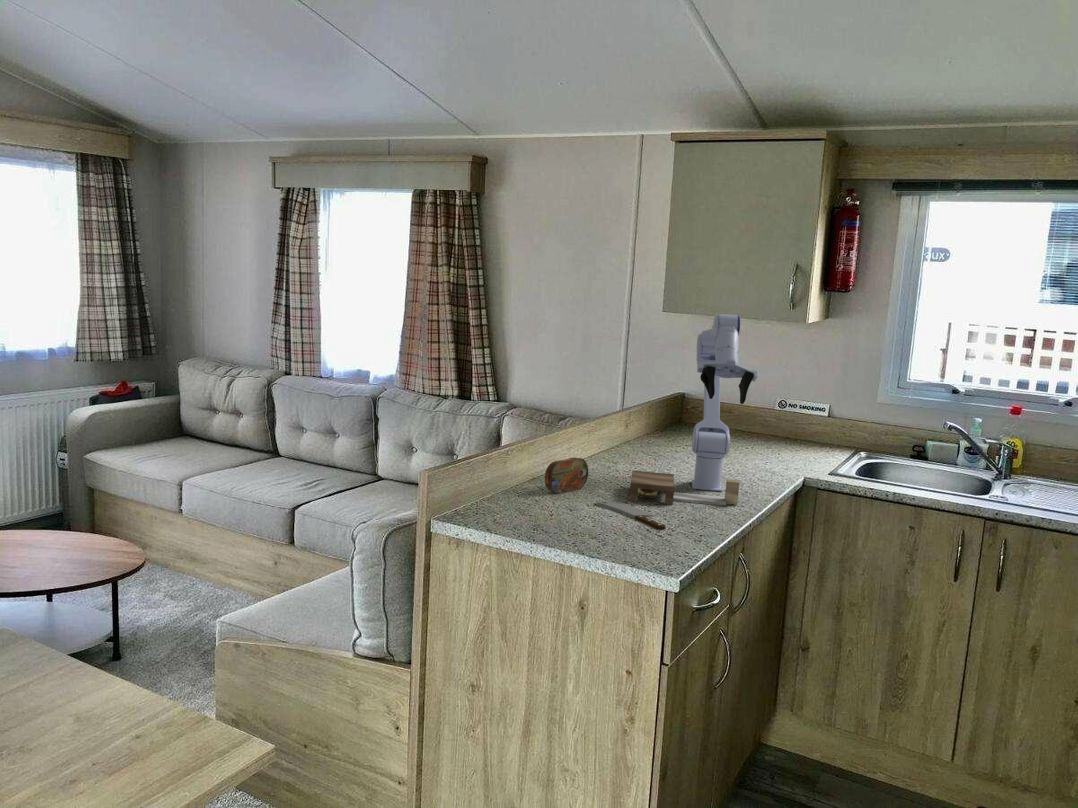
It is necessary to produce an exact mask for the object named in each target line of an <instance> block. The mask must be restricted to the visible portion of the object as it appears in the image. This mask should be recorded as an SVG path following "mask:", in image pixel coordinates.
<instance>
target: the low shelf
mask: <svg viewBox="0 0 1078 808" xmlns="http://www.w3.org/2000/svg"><path fill="white" fill-rule="evenodd" d="M629 487H630V488H629V499H628V500H629V502H638V497H639V496H638V488H643V489H654V490H658V491H664V493H665V495H664V505H671V506H672V505H673V504H674V501H673V496H674V492H675V474H674V473H663V472H655V471H654V472H652V471H641V470H632V471H631V477H630V485H629Z"/></svg>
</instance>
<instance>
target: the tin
mask: <svg viewBox="0 0 1078 808" xmlns="http://www.w3.org/2000/svg"><path fill="white" fill-rule="evenodd" d="M588 477H589V467H588V463H587V462H586V460H585V459H584V458H582V457H569V458H565V459H559V460H555V461H552V462H551V463H549V465H548V466H547V468H546V470H545V472H544V483H545V487H546V489H547V490H548V491H550V492H551V493H555V494H559V495H560V493H561V494H565V493H568V492H573V491H578V490H581V489H582V488H583V487H584V486H585V484H586V482H587V479H588Z"/></svg>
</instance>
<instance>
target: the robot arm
mask: <svg viewBox="0 0 1078 808" xmlns="http://www.w3.org/2000/svg"><path fill="white" fill-rule="evenodd" d="M741 327H742V320H741V316H740V315H739V314H738V315H737V314H736V315H735V314H726V313H725V314H722V313H718V315H715V316H714V318H713V324H712V326H711V328H710V329H705V330H702V331H701V332H700V333H699V334H698V336H697V339H696V341H697V342H696V365H697V367H696V368H697V369H696V370H697V371H696V372H697V373H700V381H701V382H702V383H703V385H704V387H703V389H704V390H703V420H701V421H699V422H698V423H696V424H695V425H694V426H693V430H692V439H691V451H692V453H693V454H695V466H694V467H695V468H694V474H693V475H694V477H693V479H691V488H692V489H693V490H703V491H713V492H714V491H715V492H723V486H722V484H721V482H722V481H721V480H722V470H723V462H724V461H723V460H724V459H725V456H727V455H728V454H729V453H730V447H731V435H730V428H729V426H728V425H726V424H725V423H724V422H723V421H721V414H720V412H721V378H723V379H739V378H741V379H740V382H739V384H738V388H739V403H740V404H741V405H743V404H744V403H745V402H746V400H747V393H748V391H749V387H750V385H751V383H752V382H755V381H756V380H757V379H758V370H755V369H751V368H748V367H747V366H744V365H742V364H740V358H739V357H740V353H739V352H740V350H739V346H740V345H739V343H740V342H739V341H740V340H739V336H740V333H741Z"/></svg>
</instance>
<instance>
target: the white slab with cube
mask: <svg viewBox="0 0 1078 808" xmlns="http://www.w3.org/2000/svg"><path fill="white" fill-rule="evenodd" d="M725 483H726V485H725V494H724V496H718V495H706V494H696V493H687V492H686V493H683V492H675V491H674V496H673V502H679V501H680V503H681V502H682V503H689V502H691V504H700V503H702V504H703V503H704V504H703V505H711V504H714V505H713V506H722V505H726V506H727V504H735V505H734V506H738V501H739V491H740V490H739V489H740V481H739V479H729V478H726V482H725ZM702 504H701V505H702ZM715 504H716V505H715Z"/></svg>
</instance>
